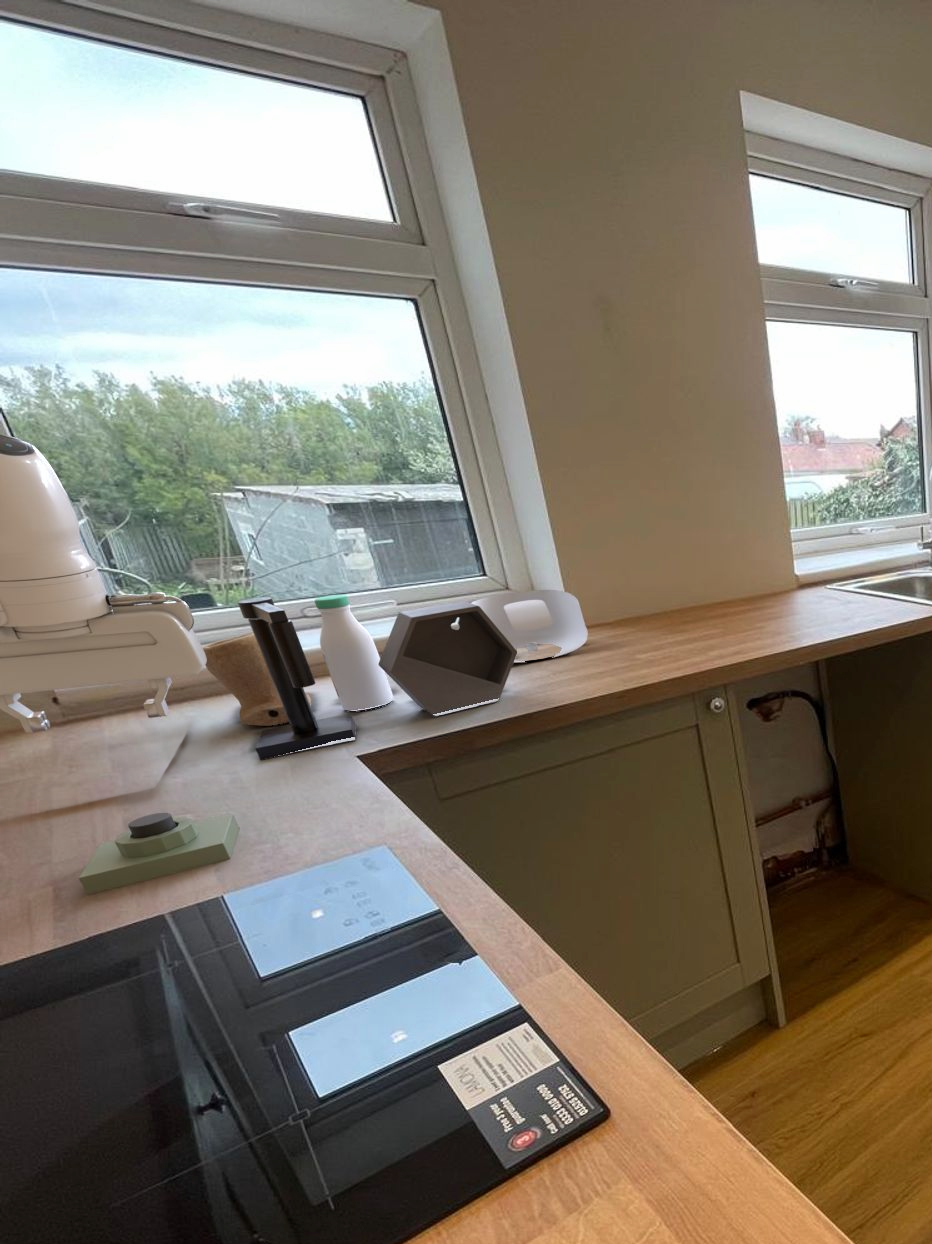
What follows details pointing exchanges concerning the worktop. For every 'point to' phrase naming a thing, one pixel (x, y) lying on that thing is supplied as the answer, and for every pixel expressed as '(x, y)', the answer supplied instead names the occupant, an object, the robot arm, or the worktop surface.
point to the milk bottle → (351, 656)
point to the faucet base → (293, 707)
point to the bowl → (537, 619)
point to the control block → (160, 853)
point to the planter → (448, 656)
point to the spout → (281, 638)
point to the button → (151, 825)
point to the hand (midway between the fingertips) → (100, 722)
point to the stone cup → (246, 679)
